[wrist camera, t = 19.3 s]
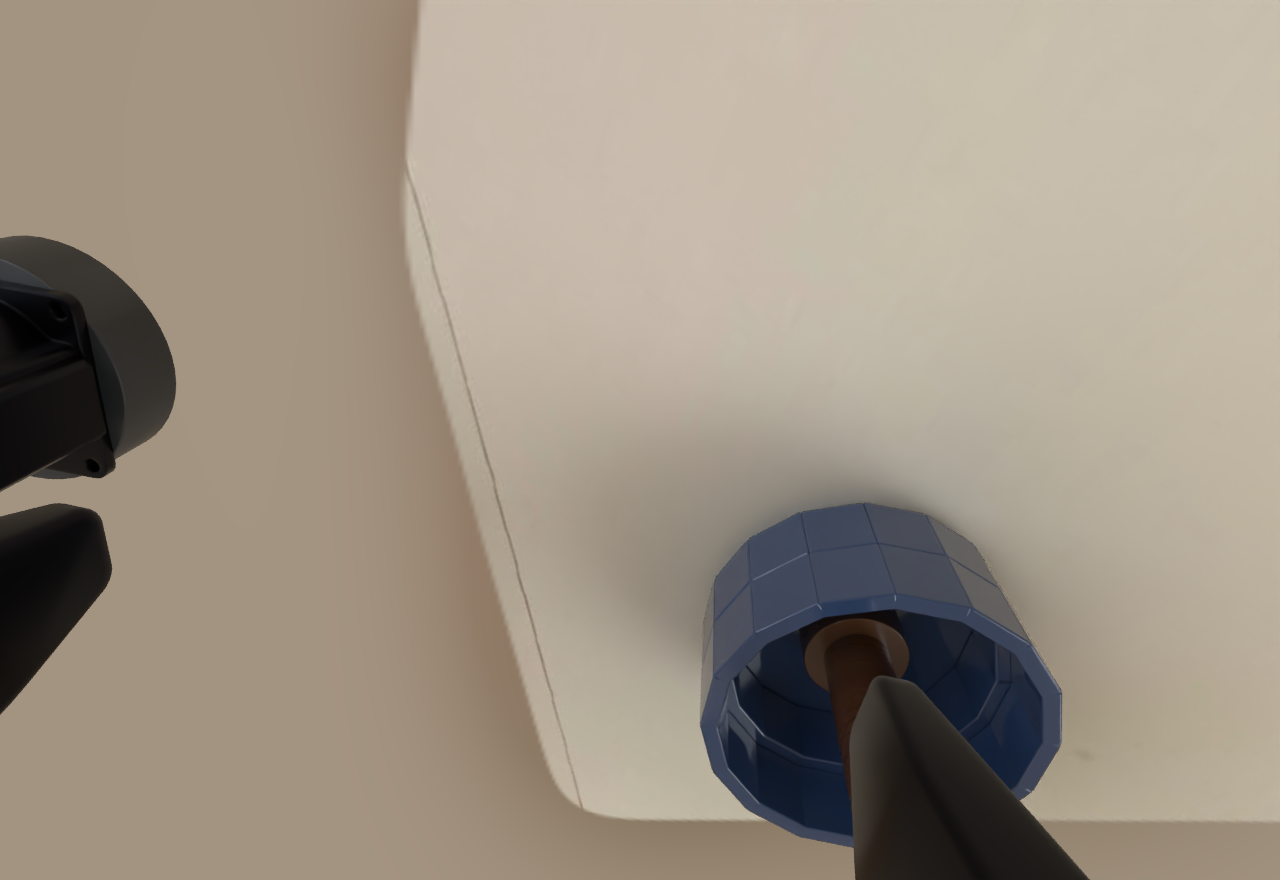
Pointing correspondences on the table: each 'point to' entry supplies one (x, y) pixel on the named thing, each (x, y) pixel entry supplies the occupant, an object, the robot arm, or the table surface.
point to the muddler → (853, 663)
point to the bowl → (939, 665)
